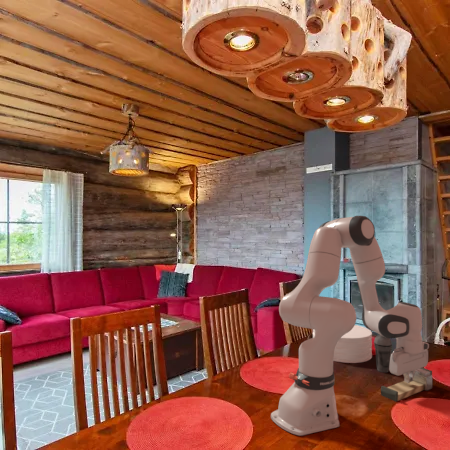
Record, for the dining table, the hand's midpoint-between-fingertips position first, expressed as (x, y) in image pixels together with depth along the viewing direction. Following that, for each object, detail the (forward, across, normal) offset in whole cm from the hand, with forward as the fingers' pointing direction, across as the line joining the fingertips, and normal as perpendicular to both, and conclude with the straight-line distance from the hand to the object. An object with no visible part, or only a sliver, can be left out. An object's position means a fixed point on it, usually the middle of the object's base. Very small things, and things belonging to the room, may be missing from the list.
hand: (408, 381), depth 138 cm
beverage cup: (+3, +9, +17) cm, 20 cm away
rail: (+3, -1, 0) cm, 3 cm away
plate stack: (+3, +13, +42) cm, 44 cm away
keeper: (+3, +7, 0) cm, 8 cm away
